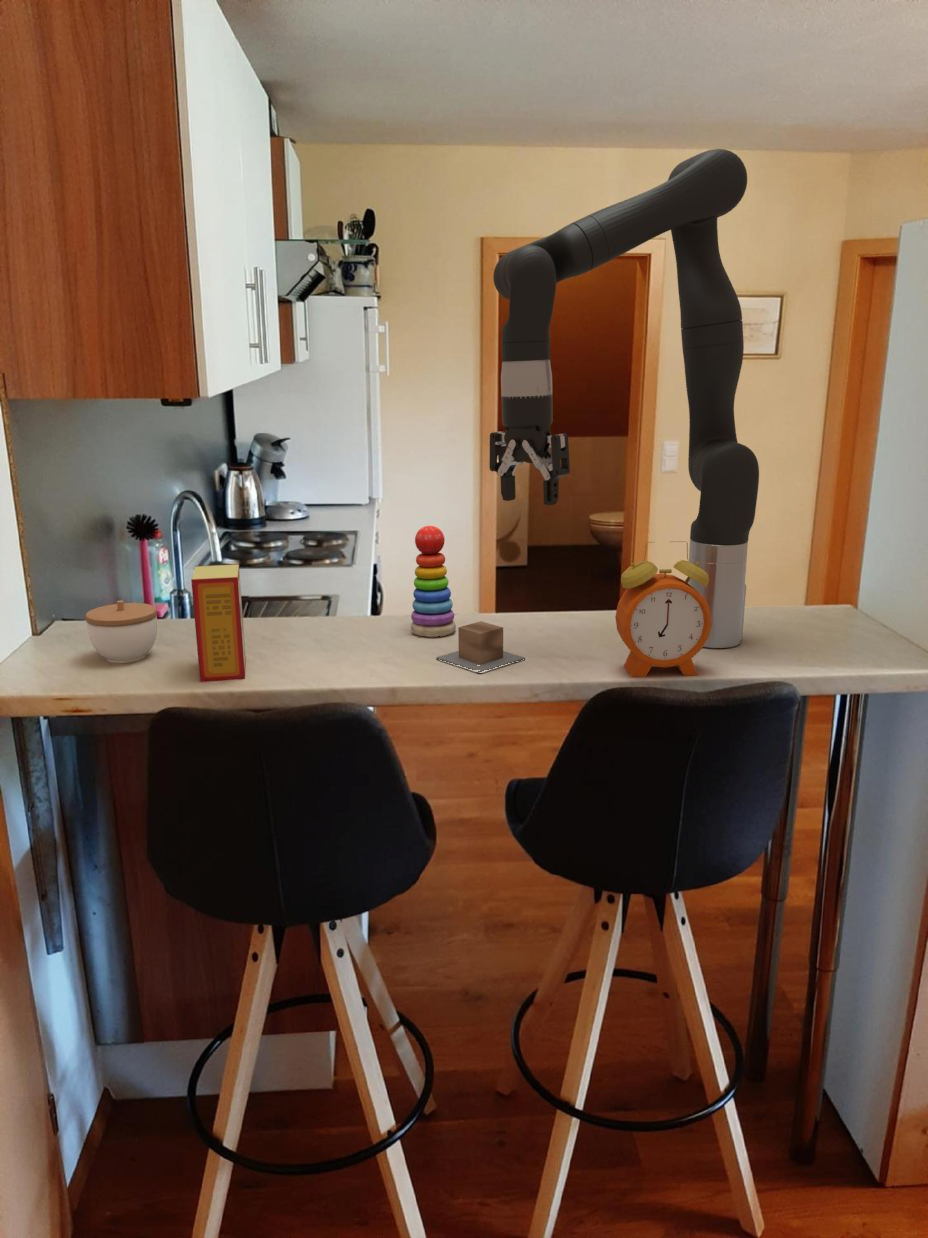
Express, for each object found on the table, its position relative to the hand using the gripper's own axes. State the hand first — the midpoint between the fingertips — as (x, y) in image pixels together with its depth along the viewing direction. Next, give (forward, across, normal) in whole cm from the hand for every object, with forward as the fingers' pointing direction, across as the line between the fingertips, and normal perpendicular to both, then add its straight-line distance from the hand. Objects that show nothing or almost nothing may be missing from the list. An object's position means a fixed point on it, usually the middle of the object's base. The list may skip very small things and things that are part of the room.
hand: (529, 502), depth 142 cm
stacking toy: (+25, +22, +1) cm, 34 cm away
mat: (+25, +6, +6) cm, 26 cm away
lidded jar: (+23, +46, +46) cm, 69 cm away
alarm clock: (+26, -18, -10) cm, 33 cm away
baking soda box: (+24, +30, +38) cm, 54 cm away
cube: (+24, +5, +6) cm, 26 cm away
